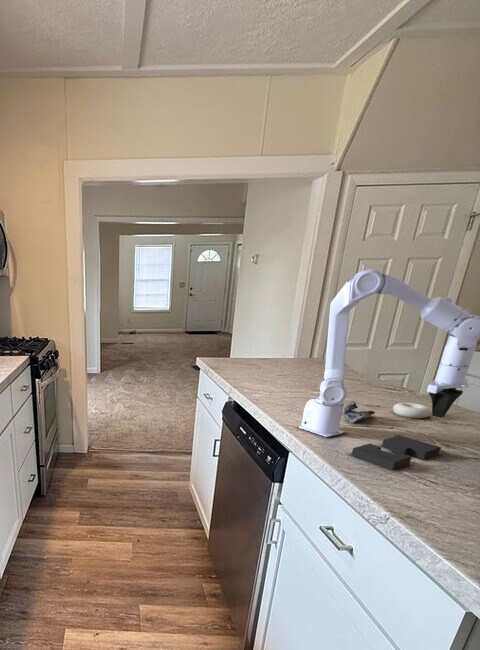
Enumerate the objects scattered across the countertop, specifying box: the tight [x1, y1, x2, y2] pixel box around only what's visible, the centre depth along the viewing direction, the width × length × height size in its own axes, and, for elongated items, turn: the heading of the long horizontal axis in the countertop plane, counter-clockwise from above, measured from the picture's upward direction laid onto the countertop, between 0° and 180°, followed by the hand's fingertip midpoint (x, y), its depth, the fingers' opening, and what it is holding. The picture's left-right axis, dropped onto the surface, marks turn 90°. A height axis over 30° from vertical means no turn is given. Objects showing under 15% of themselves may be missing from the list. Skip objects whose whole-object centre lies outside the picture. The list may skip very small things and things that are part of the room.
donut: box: [392, 401, 432, 419], centre depth 132 cm, size 10×4×10 cm
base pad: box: [351, 443, 412, 471], centre depth 100 cm, size 10×7×2 cm
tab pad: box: [381, 434, 442, 460], centre depth 104 cm, size 10×9×2 cm
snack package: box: [343, 401, 376, 424], centre depth 129 cm, size 12×6×12 cm
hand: (437, 416), depth 106 cm, fingers closed
